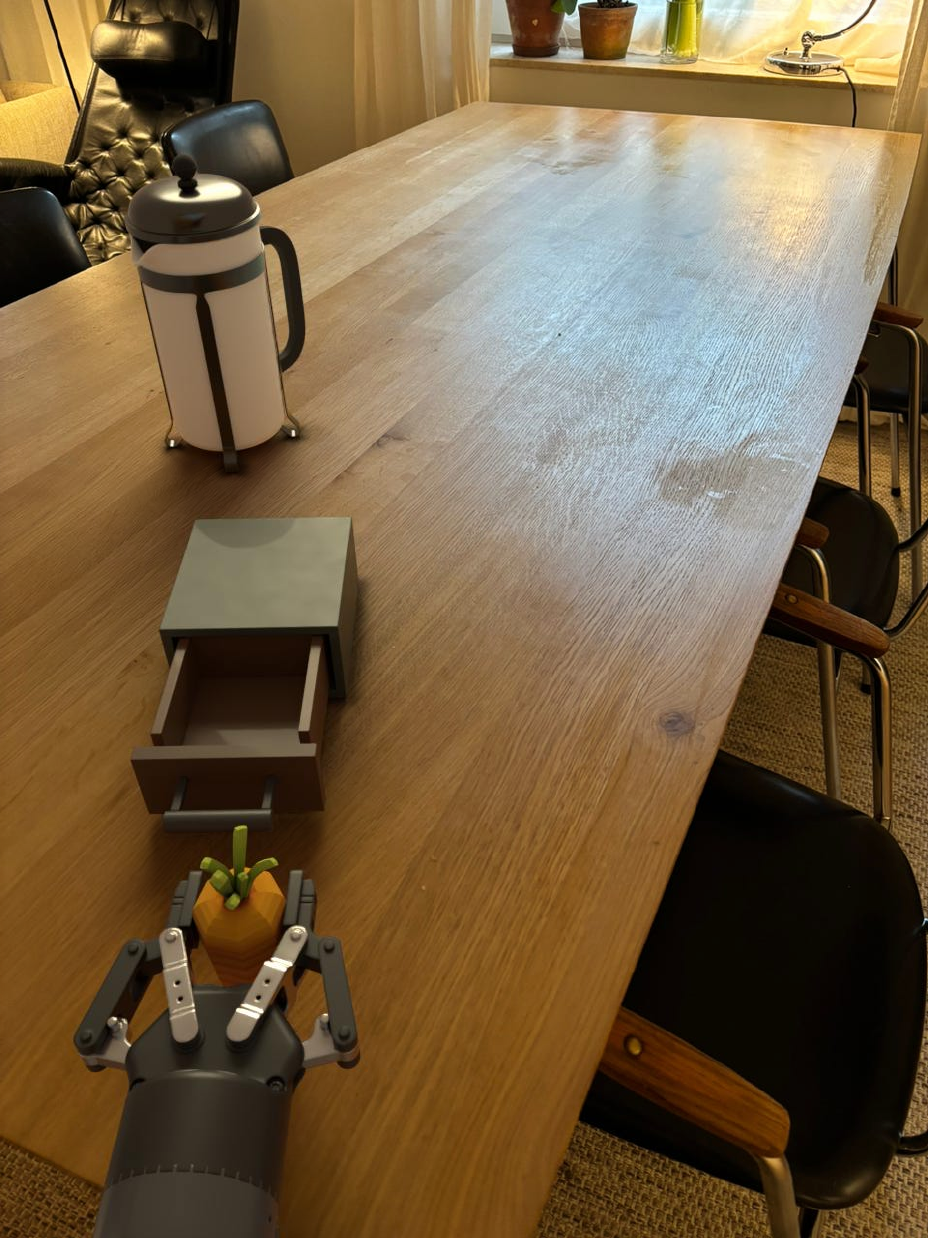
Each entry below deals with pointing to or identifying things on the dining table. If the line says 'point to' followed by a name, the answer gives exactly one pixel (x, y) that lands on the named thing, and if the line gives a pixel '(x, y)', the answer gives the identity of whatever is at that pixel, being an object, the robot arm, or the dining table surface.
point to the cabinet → (268, 585)
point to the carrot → (239, 915)
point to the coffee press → (215, 308)
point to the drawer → (237, 733)
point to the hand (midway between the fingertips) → (249, 879)
